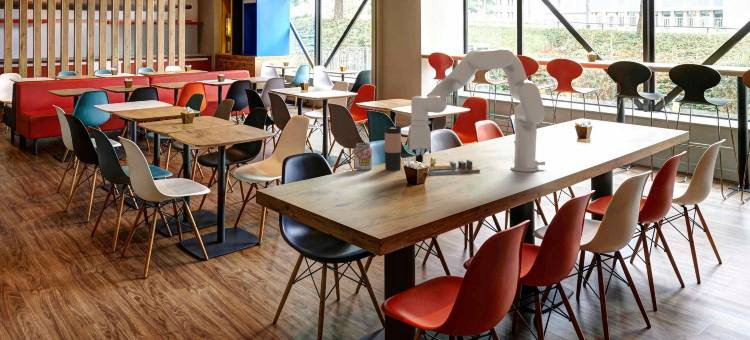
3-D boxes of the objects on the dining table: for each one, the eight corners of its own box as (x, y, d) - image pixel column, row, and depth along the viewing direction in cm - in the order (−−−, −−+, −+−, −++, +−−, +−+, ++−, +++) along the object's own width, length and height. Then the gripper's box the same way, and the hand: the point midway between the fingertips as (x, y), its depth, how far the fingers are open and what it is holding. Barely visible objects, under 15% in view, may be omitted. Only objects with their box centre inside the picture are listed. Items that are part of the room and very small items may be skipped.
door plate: (429, 175, 308) (429, 165, 307) (423, 171, 316) (424, 161, 315) (458, 173, 310) (459, 163, 309) (452, 170, 319) (452, 160, 318)
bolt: (428, 169, 310) (428, 158, 309) (426, 168, 313) (427, 157, 312) (453, 168, 313) (453, 157, 312) (451, 167, 315) (452, 156, 314)
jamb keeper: (458, 173, 310) (459, 163, 309) (452, 170, 319) (452, 159, 318) (479, 172, 312) (480, 162, 311) (473, 169, 321) (473, 158, 320)
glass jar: (354, 171, 317) (353, 146, 315) (351, 167, 325) (350, 143, 323) (373, 170, 319) (373, 145, 316) (370, 167, 327) (369, 142, 324)
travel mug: (381, 169, 322) (381, 127, 317) (394, 167, 326) (394, 125, 322) (391, 171, 316) (391, 129, 312) (404, 169, 320) (404, 127, 316)
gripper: (433, 122, 312) (432, 161, 315) (401, 123, 309) (401, 162, 312) (437, 124, 304) (437, 164, 308) (405, 125, 301) (405, 166, 305)
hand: (419, 163), depth 310 cm, fingers closed
